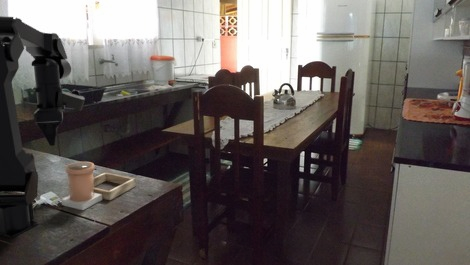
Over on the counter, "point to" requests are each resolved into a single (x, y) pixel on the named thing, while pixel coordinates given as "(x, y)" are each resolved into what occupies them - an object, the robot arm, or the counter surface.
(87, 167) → the terracotta pot
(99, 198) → the stone tile
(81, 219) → the counter surface
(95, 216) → the counter surface
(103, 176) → the beige square frame
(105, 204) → the counter surface
